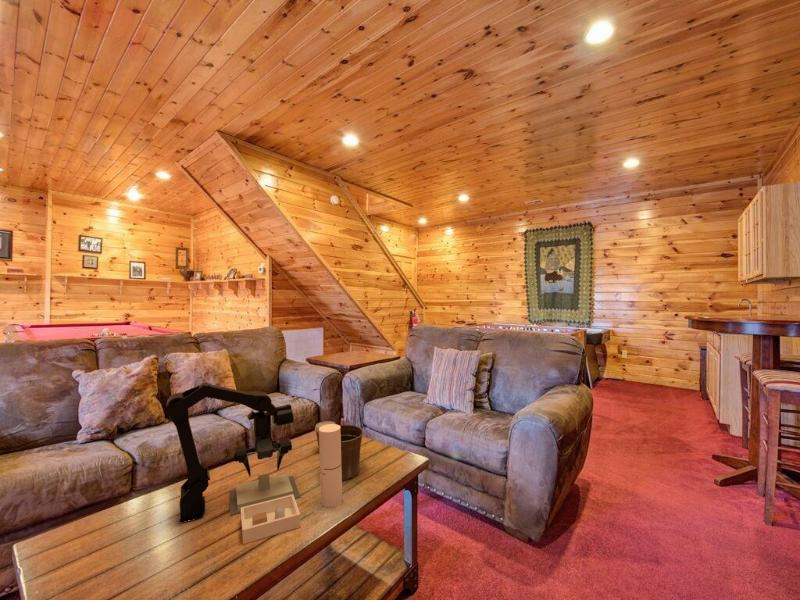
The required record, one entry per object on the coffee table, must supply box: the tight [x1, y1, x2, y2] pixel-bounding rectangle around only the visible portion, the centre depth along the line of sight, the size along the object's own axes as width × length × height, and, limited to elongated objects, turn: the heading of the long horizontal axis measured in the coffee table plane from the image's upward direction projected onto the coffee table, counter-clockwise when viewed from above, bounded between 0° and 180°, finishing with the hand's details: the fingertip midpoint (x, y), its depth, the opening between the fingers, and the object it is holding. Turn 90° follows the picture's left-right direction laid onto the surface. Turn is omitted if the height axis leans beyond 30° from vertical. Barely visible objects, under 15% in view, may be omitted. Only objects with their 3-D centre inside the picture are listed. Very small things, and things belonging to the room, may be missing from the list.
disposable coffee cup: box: [314, 420, 336, 448], centre depth 161 cm, size 10×10×12 cm
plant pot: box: [338, 424, 364, 482], centre depth 142 cm, size 16×16×16 cm
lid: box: [235, 472, 293, 511], centre depth 128 cm, size 18×14×6 cm
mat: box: [229, 475, 301, 517], centre depth 129 cm, size 22×16×1 cm
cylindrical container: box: [318, 424, 343, 508], centre depth 123 cm, size 7×7×25 cm
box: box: [240, 494, 302, 545], centre depth 112 cm, size 16×12×4 cm
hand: (264, 472), depth 128 cm, fingers open, 9 cm apart
